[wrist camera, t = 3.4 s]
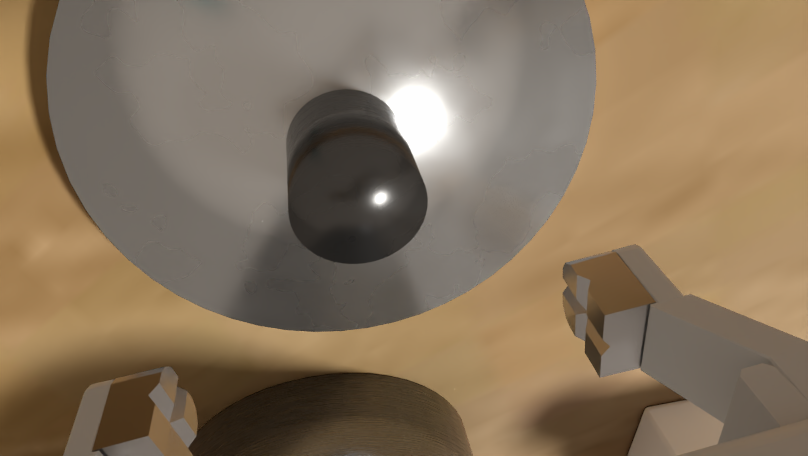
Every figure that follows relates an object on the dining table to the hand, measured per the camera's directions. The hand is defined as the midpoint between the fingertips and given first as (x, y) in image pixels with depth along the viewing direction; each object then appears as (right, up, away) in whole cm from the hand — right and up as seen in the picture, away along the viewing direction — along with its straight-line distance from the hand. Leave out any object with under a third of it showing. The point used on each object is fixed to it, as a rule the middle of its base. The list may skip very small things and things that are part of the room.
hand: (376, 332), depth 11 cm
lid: (-2, +6, +9) cm, 11 cm away
